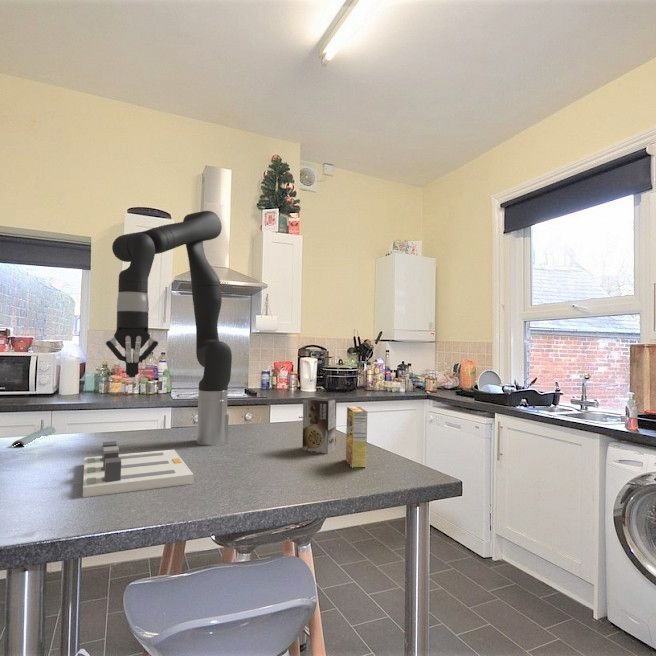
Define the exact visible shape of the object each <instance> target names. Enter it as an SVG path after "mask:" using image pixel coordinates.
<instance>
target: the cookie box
mask: <svg viewBox="0 0 656 656" xmlns="http://www.w3.org/2000/svg"><path fill="white" fill-rule="evenodd" d="M336 446H337V398H333V397H332V398H331V397H316V396H315V397H313V396H312V397H307V398H304V399H302V448H301V449H302V451H305V450H308V452H312V451H316V452H315V453H319V452H322V453H321V454H326V453H329V454H331V453H332V452H331V451H333V450H335V449H337V447H336ZM335 451H336V450H335ZM330 452H331V453H330ZM333 452H334V451H333Z"/></svg>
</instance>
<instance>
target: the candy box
mask: <svg viewBox="0 0 656 656" xmlns="http://www.w3.org/2000/svg"><path fill="white" fill-rule="evenodd" d="M345 430H346V431H345V433H346V436H345V438H346V439H345V461H346V462H347V464H348V465H349V464H350V465H349V467H352V468H351V469H354V468H353V467H366V465H367V437H368V411H367V410H365V409H363V408H362V407H360V406H347V407H346V429H345Z"/></svg>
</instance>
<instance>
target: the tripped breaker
mask: <svg viewBox="0 0 656 656" xmlns="http://www.w3.org/2000/svg"><path fill="white" fill-rule="evenodd" d="M102 451H103V452H104V455H103V470H105V459H107V458H118V455H119V454H120V448H119V445H117V446H112V447H103V446H102Z"/></svg>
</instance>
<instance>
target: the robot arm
mask: <svg viewBox="0 0 656 656" xmlns="http://www.w3.org/2000/svg"><path fill="white" fill-rule="evenodd" d="M222 227H223V226H222V222H221V219H220V217H219V216H218V214H217V213H216V212H214V211H212V210H211V211H210V210H203V211H196V212H193V213H189V214H186V215H185V216H184V218H183V220H182V221H181V222H175V223H168V224H164V225H159V226H157V227H152V228H150V229H147V230H143V231H137V232H131V233H126V234H123V235H119V236H118V237H116V238H115V239H114V241H113V243H112V246H111V249H112V250H111V251H112V254H113V255H114V256H115V257H116V258H117V259H118V260H119V261H122V262H124V263H129V262H130V264H129V267H128V268H125V269H123V270H122V271H120V272H119V275H118V286H117V287H118V289H117V290H118V293H117V301H116V329H115V330H116V331H115V333H114V335H113V336H114V337H112V338H111V339H109V340H107V341H105V346H106V347H107V348H108V349H109V350H110V351H111V353H112V354H113V355H114V356H115V358H117V360H119V361H122V362H125V374H126V376H128V378H136V376H138V374H139V363H140V362H143V361H145V360H146V359H147V358H149V356H150V354H151V353H153V351H155V350H154V349H156V348H157V346H158V345H159V342H158V341H157V340H154V339H153V338H152V337H151V334H150V332H149V311H150V306H149V295H148V294H149V292H148V291H149V290H148V289H149V287H148V286H149V275H150V273H151V270H152V266H153V263H154V261H155V256H156V255H157V254H163V253H165V252H168V251H170V250H173V249H177V248H179V247H181V246H184V245H185V248H186V252H187V258H188V265H189V272H190V273H189V274H190V281H191V285H190V286H191V295H192V303H193V312H194V321H195V333H196V337H195V338H196V340H195V341H196V343H195V344H196V347H195V352H196V360H197V363H199V365H200V366H201V367H203V376H202V379H201V380H199V382H198V399H197V400H198V401H197V423H196V426H197V427H196V430H197V431H196V444H197V445H199V446H200V445H201V446H221V445H223V444H228V443H229V418H230V416H229V413H228V394H229V393H228V392H229V391H228V389H229V387H228V386H229V384H230V381H231V376H232V363H233V361H232V360H233V359H232V358H233V357H232V356H233V355H232V351H231V350H232V349H231V348H230V346H229V344H227V343H226V342H224V341H222V340H221V341H220V339H219V331H218V329H219V328H218V322H219V318H220V317H219V316H220V312H221V308H222V302H223V301H222V298H223V297H222V288H221V287H222V286H221V281H220V278H219V276H218V274H217V273H216V271H215V269H214V268H213V267H212V265H211V264H210V263H209V261H208V259H207V257H206V254H205V250H204V249H205V248H204V242H206V241H211V240H214V239H216V238H218V237H219V236H220V235H221V233H222ZM117 343H118V344H117ZM146 343H147V348H146V349H145V350H144V351H143V352H142V353H141V349H143V347H144V346H145V345H146ZM117 345H120V347H121V348H122V349H123V350H124V355H123V354H122V353H121V352H120V351H119V349H118V348H117ZM140 353H141V355H140Z"/></svg>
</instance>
